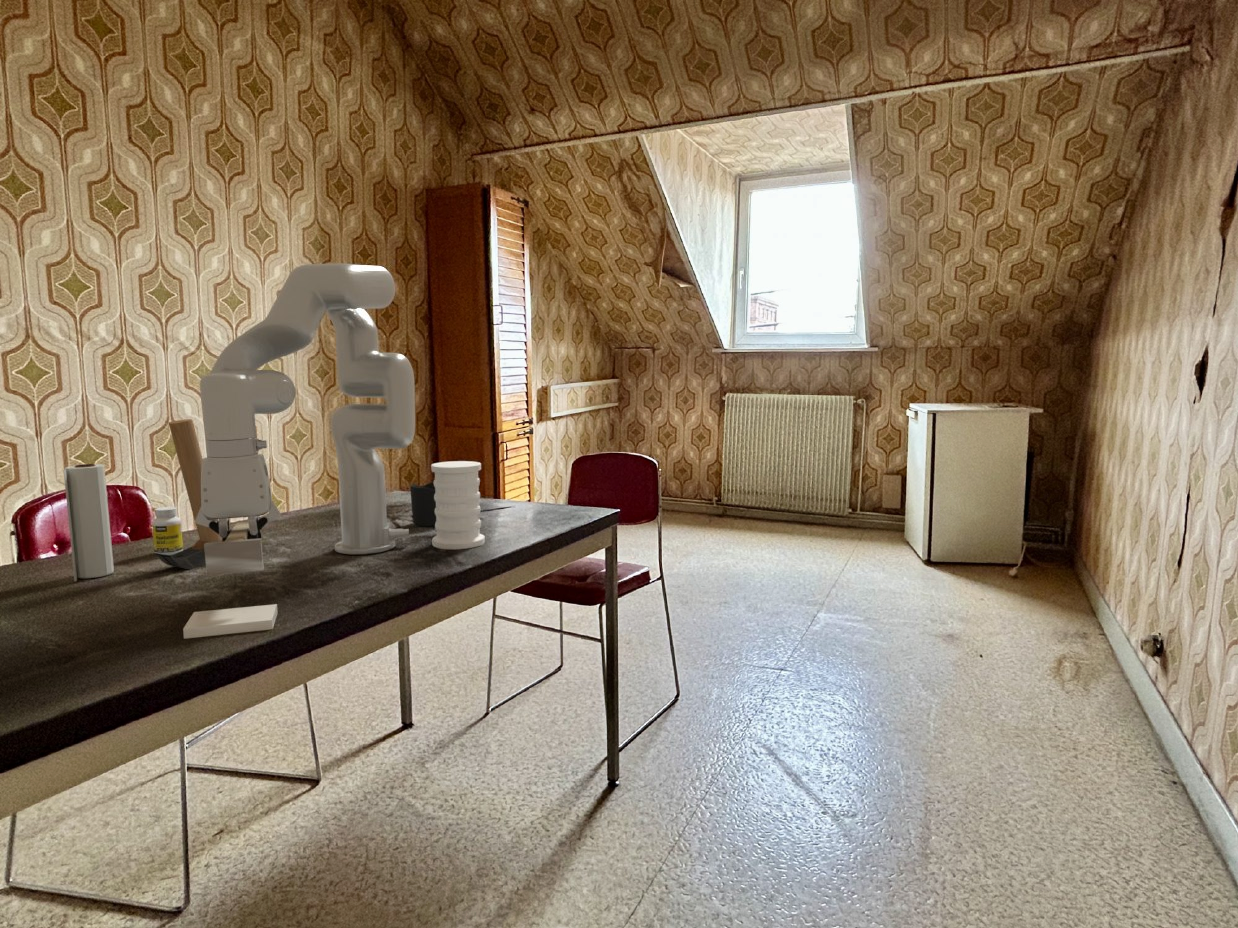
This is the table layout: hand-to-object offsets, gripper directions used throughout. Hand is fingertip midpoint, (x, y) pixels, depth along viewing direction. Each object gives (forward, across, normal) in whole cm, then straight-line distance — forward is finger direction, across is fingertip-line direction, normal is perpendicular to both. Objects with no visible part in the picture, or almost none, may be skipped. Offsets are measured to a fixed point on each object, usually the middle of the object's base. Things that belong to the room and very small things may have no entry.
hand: (242, 556), depth 127 cm
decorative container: (+10, -40, -32) cm, 52 cm away
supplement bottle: (+9, +20, -44) cm, 50 cm away
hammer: (+9, +10, -34) cm, 37 cm away
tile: (+8, 0, +7) cm, 10 cm away
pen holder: (+11, -35, -56) cm, 67 cm away
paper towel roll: (+9, +30, -29) cm, 43 cm away
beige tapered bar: (0, 0, 0) cm, 0 cm away
